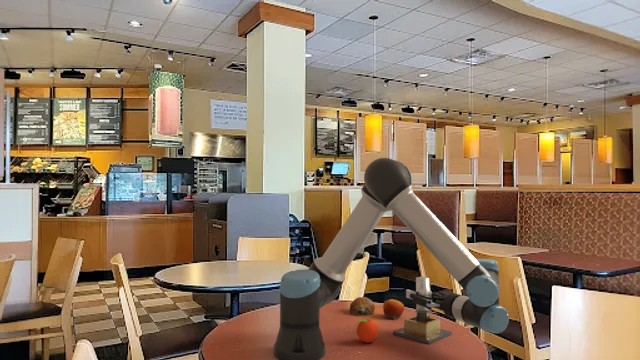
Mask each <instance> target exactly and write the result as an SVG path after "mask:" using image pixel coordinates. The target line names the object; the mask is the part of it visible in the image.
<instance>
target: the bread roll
mask: <svg viewBox="0 0 640 360" xmlns="http://www.w3.org/2000/svg"><path fill="white" fill-rule="evenodd" d="M375 307H376V306H375V303H374V302H373V300H371V299H370V298H368V297H366V296H358V297H356V298H355V299H353V301H351V302H350V305H349V312H350V314H351V315H353V316H354V315H355V316H361V317H362V316H363V317H364V316H370V315H373V314H375V310H376V308H375Z"/></svg>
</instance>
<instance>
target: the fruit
mask: <svg viewBox="0 0 640 360" xmlns="http://www.w3.org/2000/svg"><path fill="white" fill-rule="evenodd" d="M382 308H383V314H384V317H385V318H386V319H387V318H392V319H394V320H396V319H399V318H401V316H402V315H403V313H404V311H405V306H404V304H403V302H401V301H399V300H397V299H393V298H390V299H388V300H385V301H384V302H383V305H382Z"/></svg>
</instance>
